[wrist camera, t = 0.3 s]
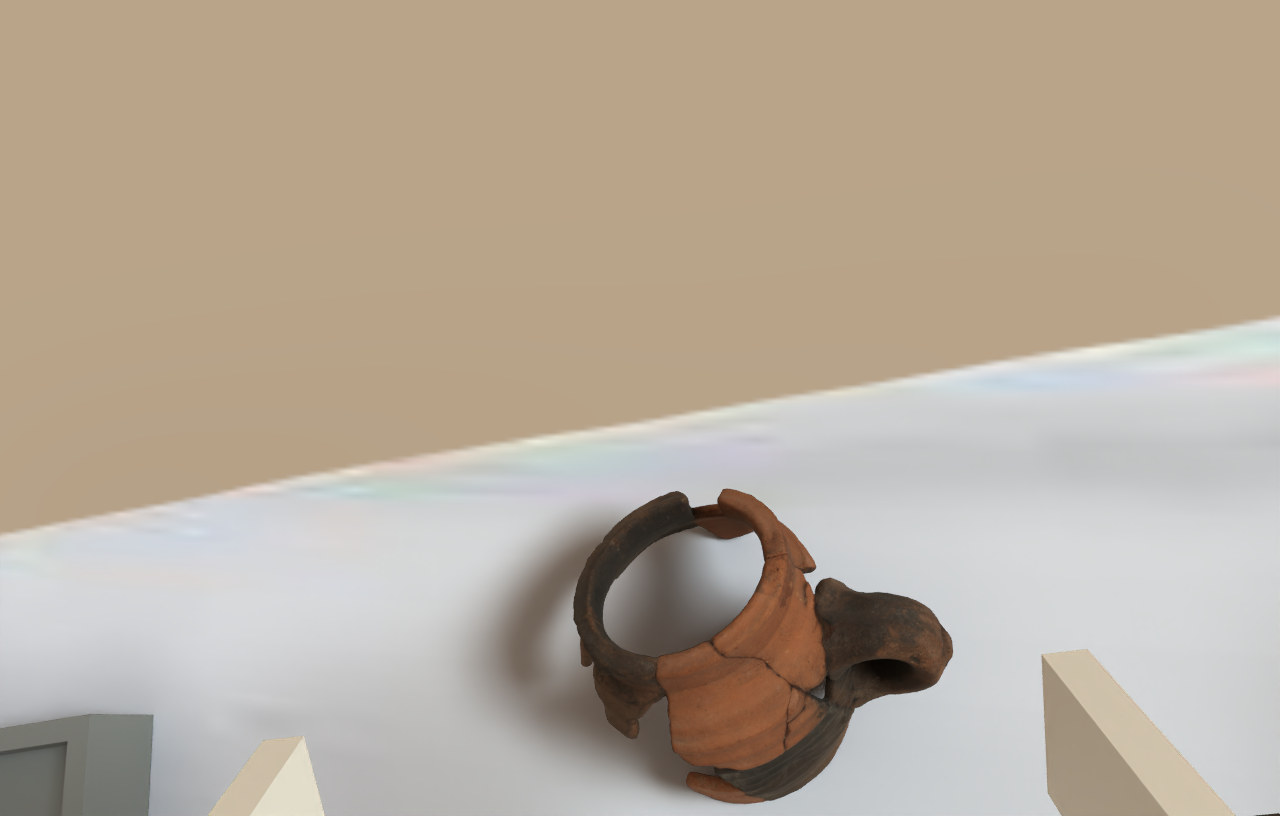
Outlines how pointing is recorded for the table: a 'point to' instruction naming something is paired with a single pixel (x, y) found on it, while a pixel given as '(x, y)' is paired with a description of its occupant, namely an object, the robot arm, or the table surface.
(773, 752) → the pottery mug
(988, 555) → the table surface
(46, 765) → the grey tray
